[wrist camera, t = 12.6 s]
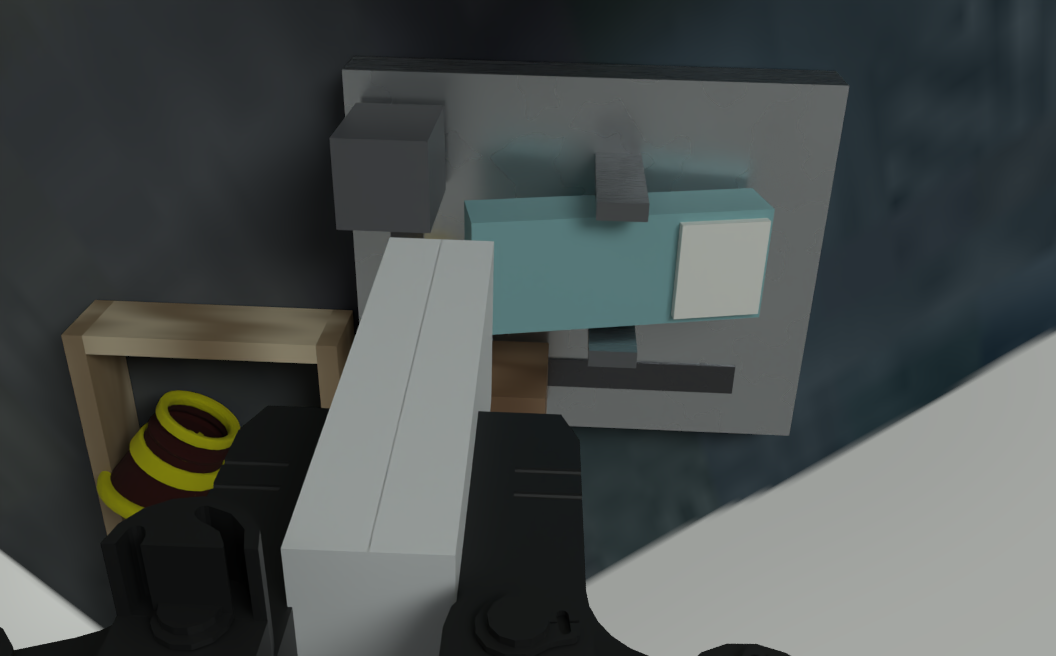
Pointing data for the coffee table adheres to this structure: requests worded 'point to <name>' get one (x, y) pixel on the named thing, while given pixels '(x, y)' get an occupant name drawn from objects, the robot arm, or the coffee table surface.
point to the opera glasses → (171, 454)
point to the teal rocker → (624, 260)
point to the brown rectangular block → (519, 377)
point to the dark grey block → (389, 167)
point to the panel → (639, 211)
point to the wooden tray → (185, 333)
